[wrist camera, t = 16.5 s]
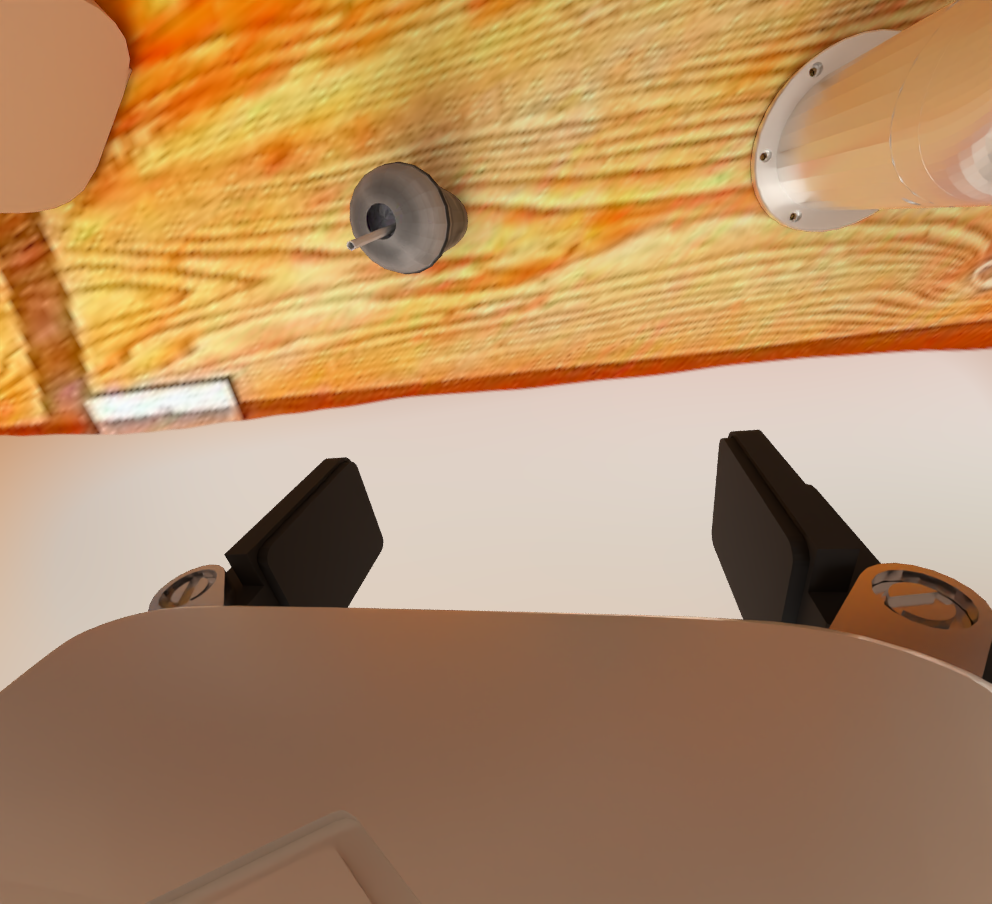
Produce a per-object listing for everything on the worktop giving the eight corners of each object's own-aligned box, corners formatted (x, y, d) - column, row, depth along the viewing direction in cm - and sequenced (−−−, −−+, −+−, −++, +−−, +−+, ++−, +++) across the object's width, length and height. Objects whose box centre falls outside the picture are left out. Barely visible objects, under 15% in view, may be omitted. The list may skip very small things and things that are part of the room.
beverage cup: (483, 177, 39) (405, 145, 22) (480, 263, 43) (412, 295, 25) (407, 174, 40) (275, 141, 23) (411, 258, 43) (299, 286, 26)
